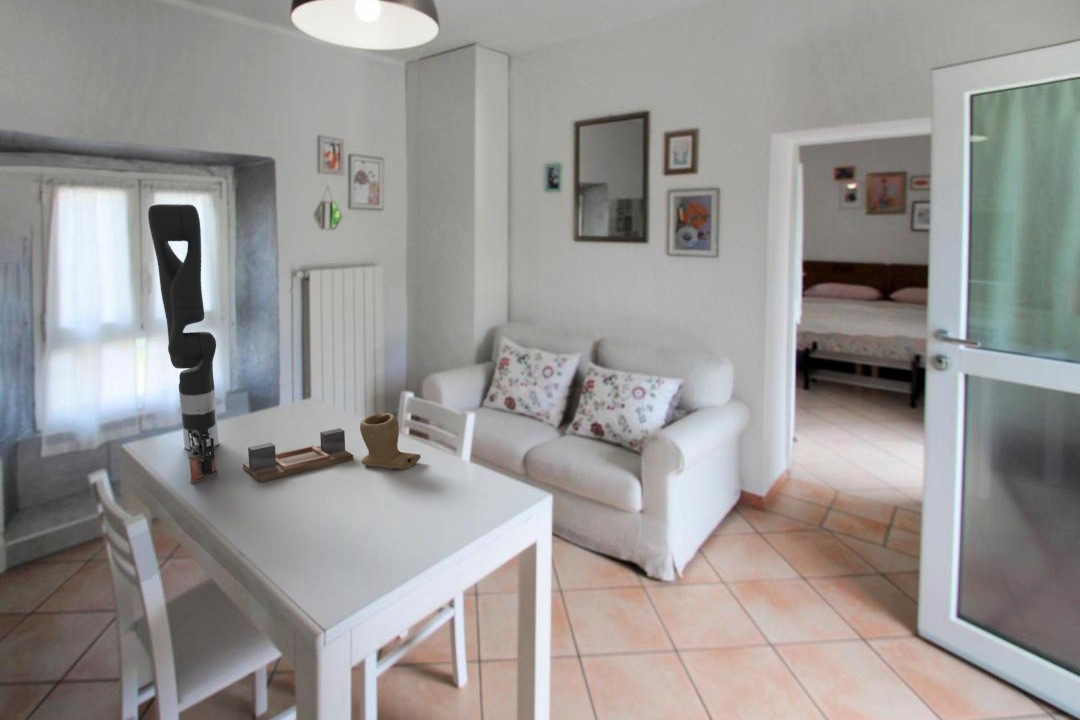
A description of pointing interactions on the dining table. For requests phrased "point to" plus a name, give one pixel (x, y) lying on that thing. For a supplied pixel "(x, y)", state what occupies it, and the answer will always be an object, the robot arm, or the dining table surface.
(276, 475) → the rail
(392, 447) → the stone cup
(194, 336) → the robot arm
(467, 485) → the dining table surface
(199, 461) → the lighter
